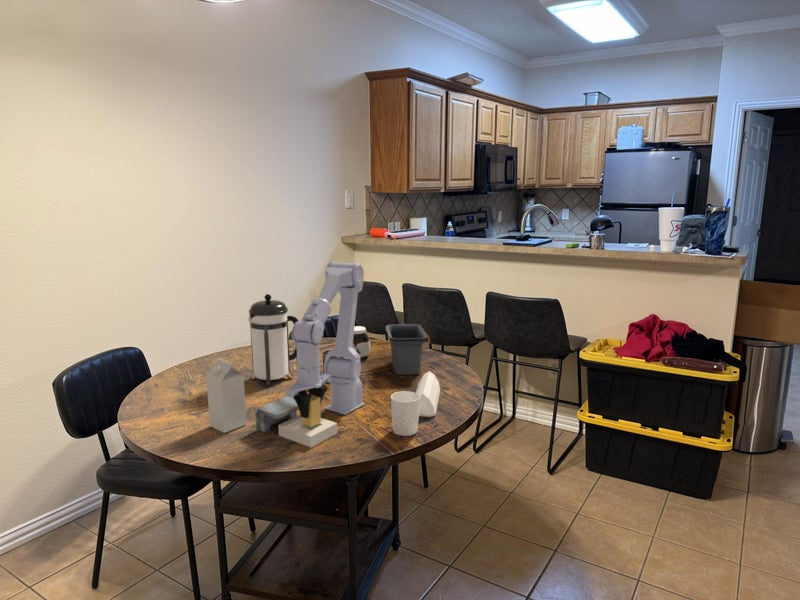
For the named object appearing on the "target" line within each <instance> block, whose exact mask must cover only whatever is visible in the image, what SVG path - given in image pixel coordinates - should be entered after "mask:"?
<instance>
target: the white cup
mask: <svg viewBox="0 0 800 600" xmlns="http://www.w3.org/2000/svg"><path fill="white" fill-rule="evenodd" d="M419 405H420V395H419V394H417V393H416V391H408V390H402V391H396V392H393V393H391V395H390V410H391V422H392V432H393V433H394V434H396V435H398V436H402V437H403V436H404V437H409V436H413V435H415V434H417V432H418V429H419V428H418V427H419V417H420V416H419Z"/></svg>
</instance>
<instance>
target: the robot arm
mask: <svg viewBox="0 0 800 600" xmlns="http://www.w3.org/2000/svg"><path fill="white" fill-rule="evenodd" d="M324 270H325V271H324V276H325V277H324V278H325V281H324V283H323V285H322V288H321V290H320V293H319V295H318V297H317V298H315V299H314V298H313V299H312V300H311V302H310V304H309V306H308V307H307V309H306V311H305V313H304V314H303V316H302V318H301V319H300V320H298V322H296V323H295V324H294V323H293V326H292V331H291V334H290V335H291V339H292V341H293V343H294V349H295V348H296V349H297V357H296V364H297V365H296V366H297V381H296V382H294V383H293V384H292V385H291V386H290V387H287V388H286V389H285V393H286V394H285V395H286V396H288V397H291V398H292V397H293V398H294V400H295V401H296V403H297V405H298V408H299V410H298V411H299V413H300V414H299V415H301V417H304V418H308V416H309V403H310V399H311V396H312V395H314V396H317V397H320V402H321V403H322V401H323V398H324V396H325V394H326V392H327V391H328V387H327V385H324V384H325V383H330V399H331V400H330V404H329V405H326V406H325V410H328V411H331V412H334V413H338V414H340V415H347V414H349V413H352V412H353V411H355V410H357V409H359V408H361V407H363V406H365V402H363V383H362V380H361V379H360V376H361V372H362V363H361V360H360V355H359V354H358V353H357V352H356V351H355V350H354V349H353V348H352V346H353V336H354V326H355V324H356V323H355V322H356V315H357V304H358V296H359V295H358V294H359V293H361V292H362V291H363V286H364V277H365V272H364V267H363V266H362V264H361V263H360V262H346V261H345V262H344V261H343V262H341V261H333V260H331V261H329V262H328V263H327V265H326V267H325V269H324ZM338 292H339V294H340V300H339V310H338V319H337V327H336V328H337V329H336V339H335V346H334V348H332V349H331V350H329V351H328V352H327V353H326V354H327V355H326V359H325V362H324V366H323V372H324V373H323V374H321V370H320V368H321V366H320V343H321V341H322V339H323V337H324V330H325V327H326V326H325V323H326V321H327V319H328V317H329V316H330V313H331V312H332V307H331V303H332V302H333V301H334V298H335V297H336V295H337V294H338ZM340 357H347V358H350V359H345V358H340ZM307 391H308V392H307ZM310 394H311V395H310ZM286 396H285V397H286Z"/></svg>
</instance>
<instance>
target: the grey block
mask: <svg viewBox="0 0 800 600" xmlns="http://www.w3.org/2000/svg"><path fill="white" fill-rule="evenodd" d="M297 411H299V408H298V405H297V403H296V401H295V400H294V398H293V397H292V398H291V397H288V396H284V397H281V398H280V399H277V400H274V401H272V402H270V403H268V404H265V405H262V406H260V407H258V408H256V410H255V411H254V416H255V430H256V431H257V432H261V433H262V432H263V433H267V432H269V431H270V430H271V426H273V425H275V424H277V423H279V422H282V421H283V420H285V419H288V420H290V419H292V418H295V417H297V416H298V414H297V413H298V412H297Z"/></svg>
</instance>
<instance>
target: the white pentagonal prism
mask: <svg viewBox="0 0 800 600" xmlns="http://www.w3.org/2000/svg"><path fill="white" fill-rule="evenodd" d="M416 388H417V389H416V390H415V393H417V394H419V395H420V405H419V417H426V418H427V417H428V418H430V417H434V416H436V413H437V409H438V404H439V398H440V392H441V387H440V382H439V379H438V378H437V376H436V375H435V374H434V373H432V372H431V371H430V370H428V371H427V372H426V373H424V374H423V375H422V377H421V378H420V380H419V381H418V384H417V387H416Z"/></svg>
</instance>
